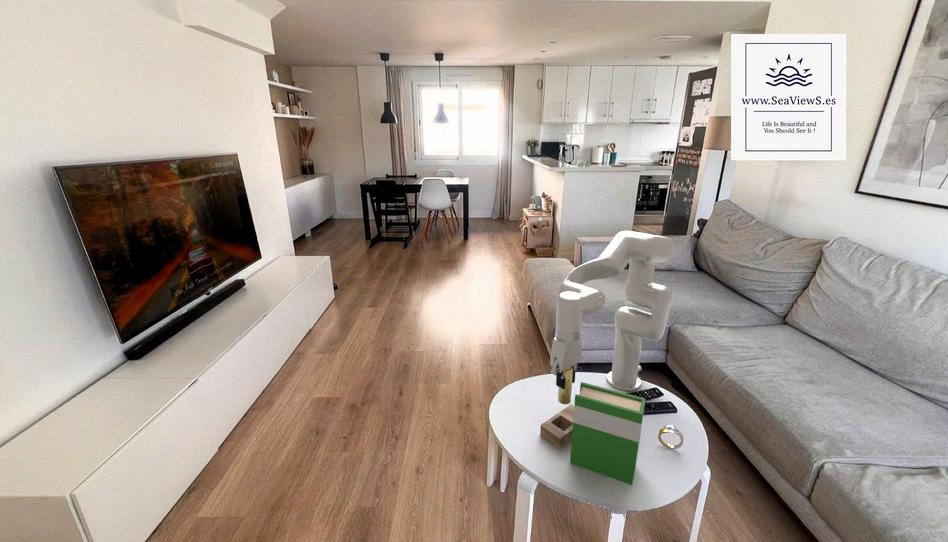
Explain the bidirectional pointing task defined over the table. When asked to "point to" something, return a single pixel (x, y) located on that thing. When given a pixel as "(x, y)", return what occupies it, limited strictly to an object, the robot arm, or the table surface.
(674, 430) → the ring
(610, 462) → the hardback book
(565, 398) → the peg
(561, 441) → the eye block
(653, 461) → the table surface
